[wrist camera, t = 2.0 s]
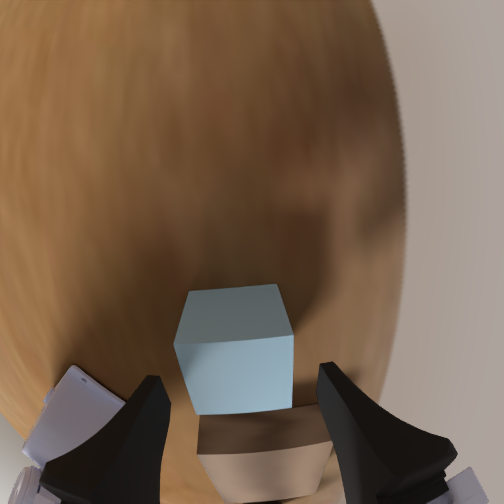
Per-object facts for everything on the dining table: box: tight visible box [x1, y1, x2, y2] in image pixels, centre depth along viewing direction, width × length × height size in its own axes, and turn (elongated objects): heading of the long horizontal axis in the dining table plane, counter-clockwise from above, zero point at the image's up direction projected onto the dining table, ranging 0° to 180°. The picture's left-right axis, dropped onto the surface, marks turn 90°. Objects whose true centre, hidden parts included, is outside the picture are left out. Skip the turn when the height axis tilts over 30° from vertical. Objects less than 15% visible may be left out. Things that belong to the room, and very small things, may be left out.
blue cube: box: [173, 284, 294, 415], centre depth 14 cm, size 5×5×5 cm
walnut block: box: [197, 404, 333, 503], centre depth 20 cm, size 10×14×4 cm
